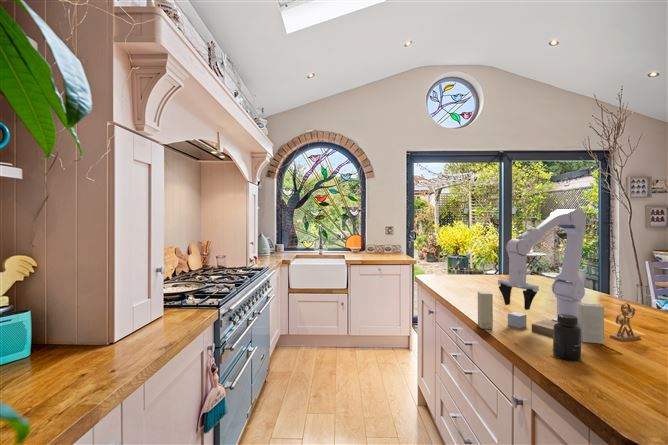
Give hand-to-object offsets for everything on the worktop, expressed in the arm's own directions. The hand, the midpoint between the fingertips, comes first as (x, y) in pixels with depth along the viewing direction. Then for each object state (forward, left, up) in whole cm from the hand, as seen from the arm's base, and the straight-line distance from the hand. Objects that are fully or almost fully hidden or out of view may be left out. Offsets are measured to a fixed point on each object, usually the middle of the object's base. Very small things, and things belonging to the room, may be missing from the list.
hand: (517, 306), depth 126 cm
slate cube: (0, 0, -7) cm, 7 cm away
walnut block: (-4, +11, -8) cm, 14 cm away
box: (+12, -5, -7) cm, 15 cm away
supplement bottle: (+15, +24, -7) cm, 29 cm away
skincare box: (-6, +21, -7) cm, 23 cm away
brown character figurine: (-19, +26, -7) cm, 33 cm away
